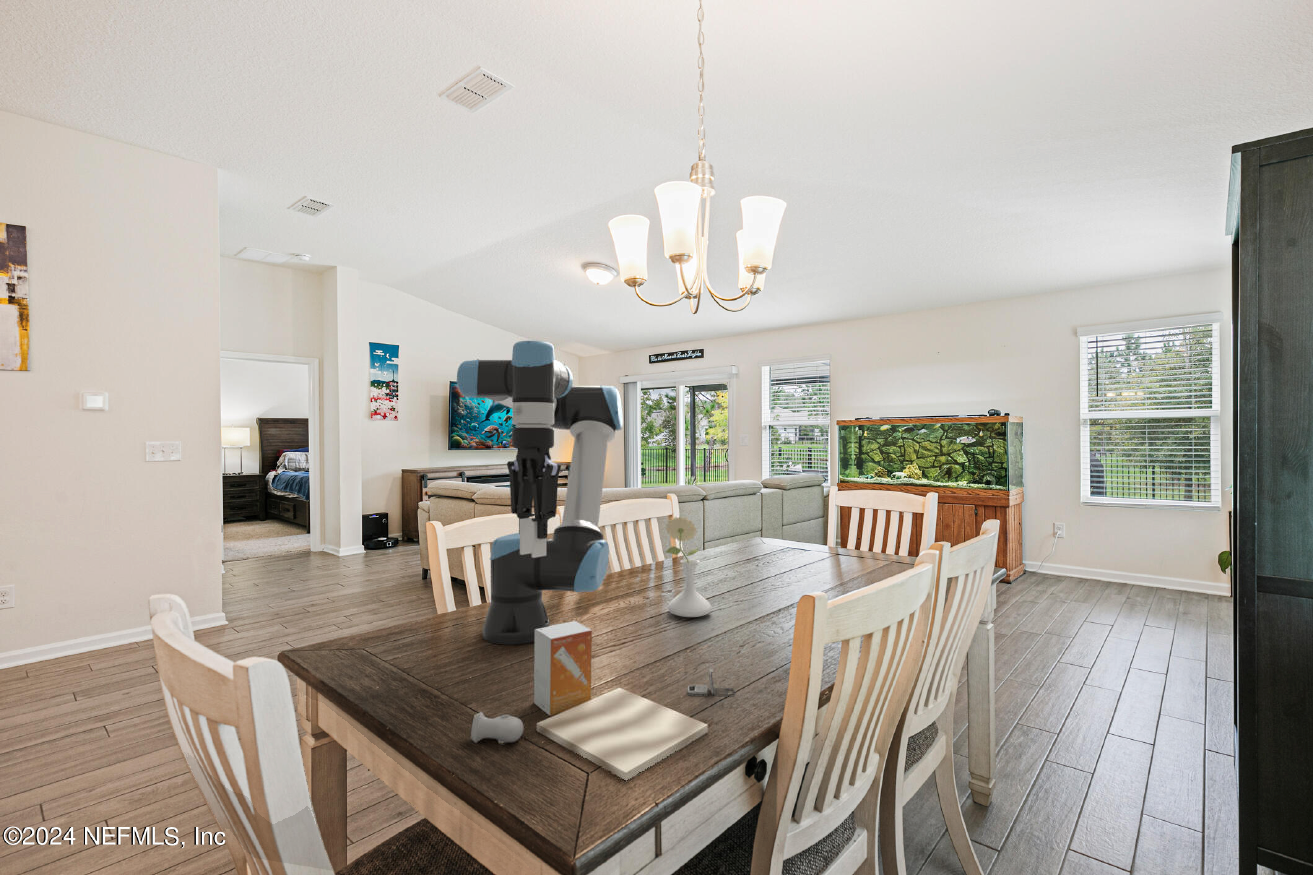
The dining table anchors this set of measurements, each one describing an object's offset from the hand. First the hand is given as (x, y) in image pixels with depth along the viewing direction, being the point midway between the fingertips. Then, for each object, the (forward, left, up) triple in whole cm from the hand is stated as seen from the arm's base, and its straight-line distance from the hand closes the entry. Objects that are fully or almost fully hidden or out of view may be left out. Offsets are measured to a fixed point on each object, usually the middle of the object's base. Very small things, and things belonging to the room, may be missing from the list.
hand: (532, 554), depth 110 cm
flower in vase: (-8, +54, -25) cm, 60 cm away
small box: (+9, 0, -25) cm, 26 cm away
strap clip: (+25, +21, -25) cm, 41 cm away
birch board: (+24, 0, -25) cm, 34 cm away
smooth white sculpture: (+11, -14, -25) cm, 31 cm away
